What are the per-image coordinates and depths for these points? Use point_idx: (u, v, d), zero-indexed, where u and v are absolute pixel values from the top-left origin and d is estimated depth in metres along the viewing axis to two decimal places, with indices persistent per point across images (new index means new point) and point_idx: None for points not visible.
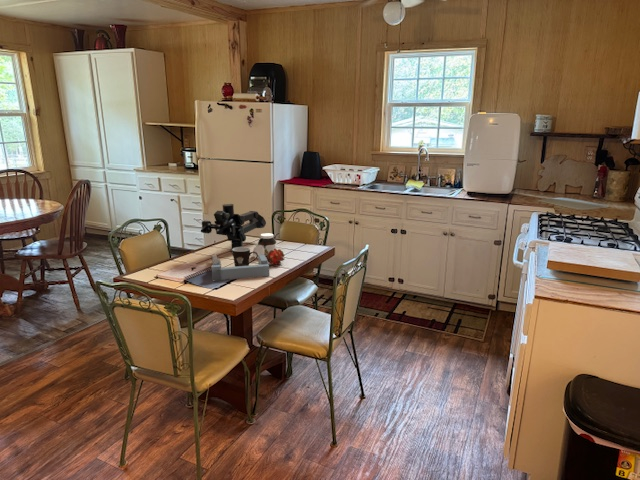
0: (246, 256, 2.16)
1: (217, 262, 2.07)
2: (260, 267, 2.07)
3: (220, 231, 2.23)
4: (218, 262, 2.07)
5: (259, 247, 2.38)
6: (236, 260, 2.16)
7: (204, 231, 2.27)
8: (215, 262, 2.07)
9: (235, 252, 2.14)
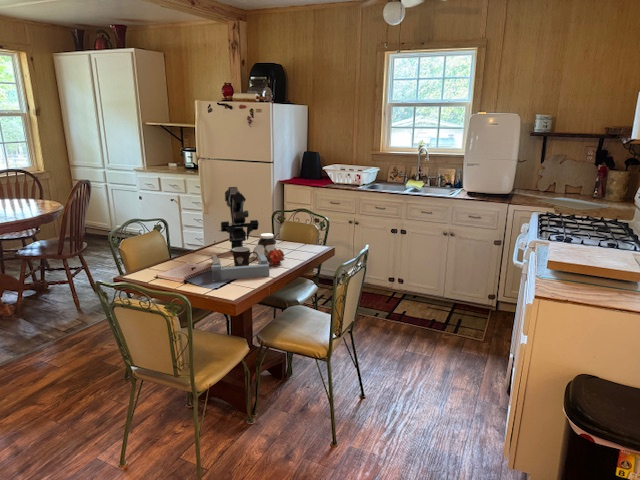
0: (246, 256, 2.16)
1: (217, 262, 2.07)
2: (260, 267, 2.07)
3: (248, 235, 2.26)
4: (218, 262, 2.07)
5: (259, 247, 2.38)
6: (236, 260, 2.16)
7: (234, 236, 2.25)
8: (215, 262, 2.07)
9: (235, 252, 2.14)
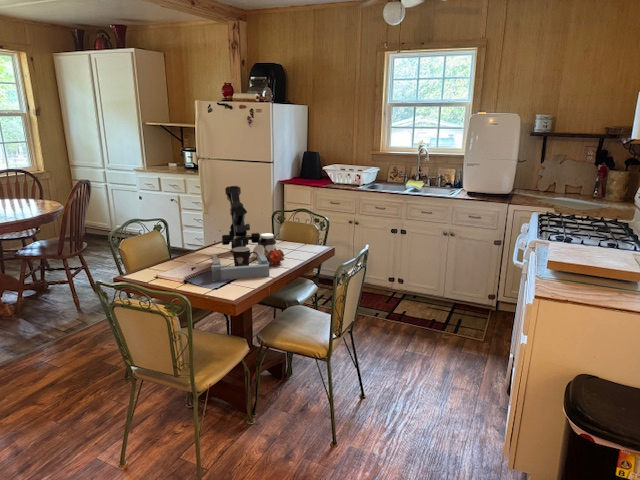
0: (246, 256, 2.16)
1: (217, 262, 2.07)
2: (260, 267, 2.07)
3: None
4: (218, 262, 2.07)
5: (259, 247, 2.38)
6: (236, 260, 2.16)
7: None
8: (215, 262, 2.07)
9: (235, 252, 2.14)
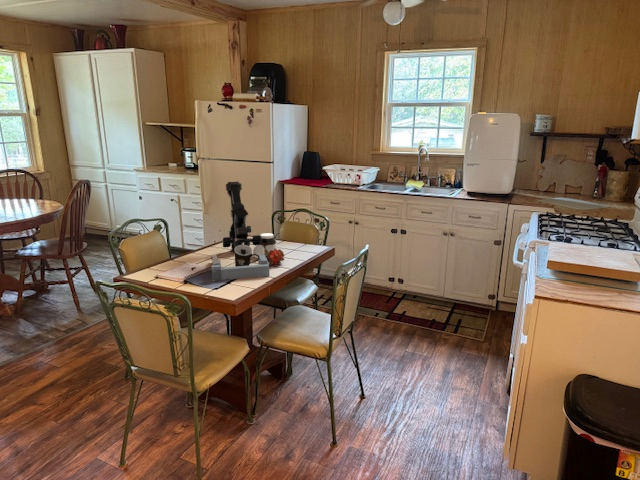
0: (248, 259, 2.14)
1: (217, 262, 2.07)
2: (260, 267, 2.07)
3: (245, 251, 2.19)
4: (218, 262, 2.07)
5: (259, 247, 2.38)
6: (237, 261, 2.14)
7: (242, 252, 2.20)
8: (215, 262, 2.07)
9: (237, 254, 2.12)
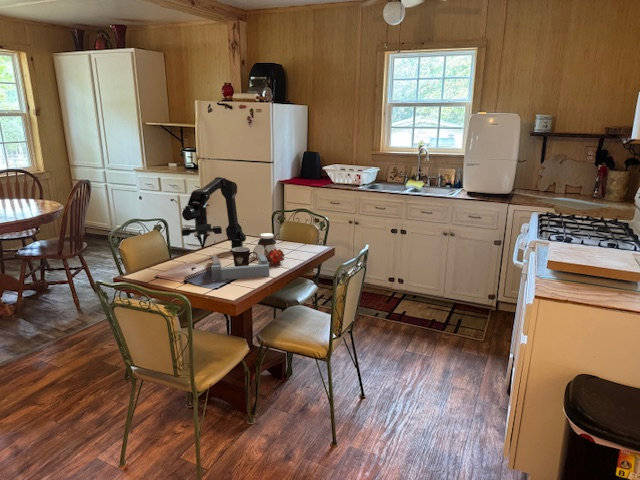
0: (246, 256, 2.16)
1: (217, 262, 2.07)
2: (260, 267, 2.07)
3: (204, 243, 2.19)
4: (218, 262, 2.07)
5: (259, 247, 2.38)
6: (236, 260, 2.16)
7: None
8: (215, 262, 2.07)
9: (235, 252, 2.14)
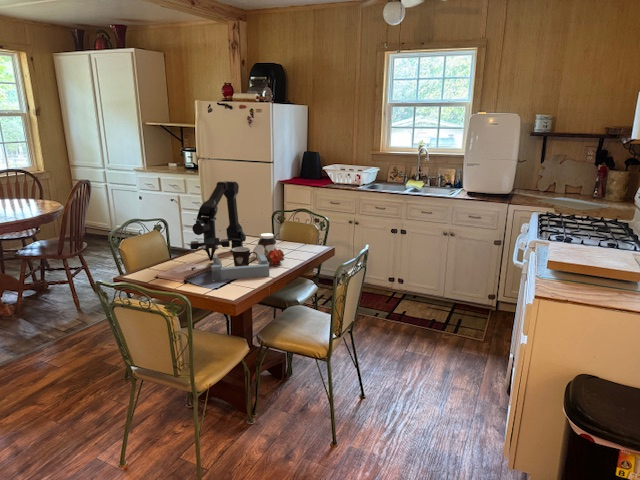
0: (246, 256, 2.16)
1: (218, 262, 2.08)
2: (260, 267, 2.07)
3: (212, 256, 2.22)
4: (219, 262, 2.08)
5: (259, 247, 2.38)
6: (236, 260, 2.16)
7: (210, 255, 2.23)
8: (216, 262, 2.07)
9: (235, 252, 2.14)
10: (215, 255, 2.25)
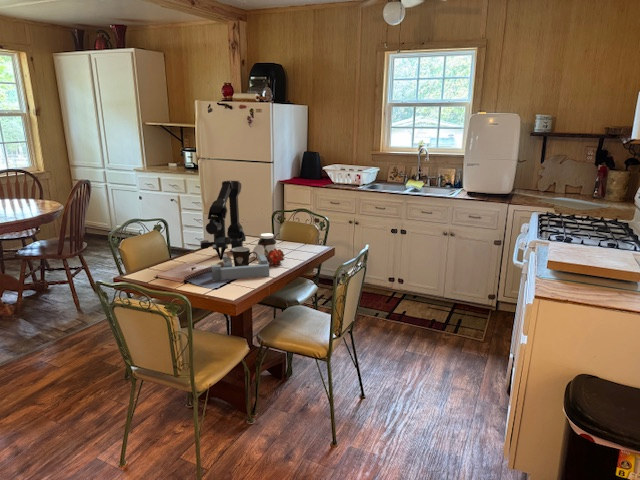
0: (246, 256, 2.16)
1: (228, 261, 2.09)
2: (260, 267, 2.07)
3: (222, 255, 2.23)
4: (229, 261, 2.09)
5: (259, 247, 2.38)
6: (236, 260, 2.16)
7: None
8: (226, 261, 2.09)
9: (235, 252, 2.14)
10: (225, 254, 2.27)
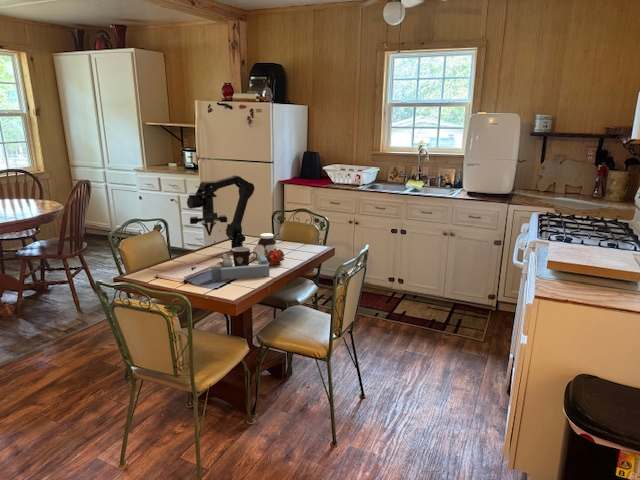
0: (246, 256, 2.16)
1: (228, 261, 2.09)
2: (260, 267, 2.07)
3: None
4: (229, 261, 2.09)
5: (259, 247, 2.38)
6: (236, 260, 2.16)
7: (208, 230, 2.35)
8: (227, 261, 2.09)
9: (235, 252, 2.14)
10: (225, 254, 2.27)
